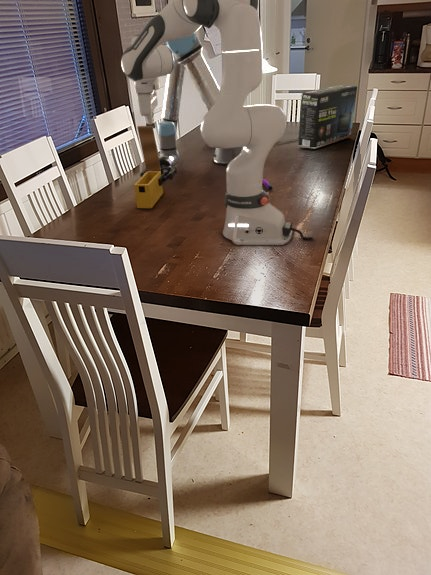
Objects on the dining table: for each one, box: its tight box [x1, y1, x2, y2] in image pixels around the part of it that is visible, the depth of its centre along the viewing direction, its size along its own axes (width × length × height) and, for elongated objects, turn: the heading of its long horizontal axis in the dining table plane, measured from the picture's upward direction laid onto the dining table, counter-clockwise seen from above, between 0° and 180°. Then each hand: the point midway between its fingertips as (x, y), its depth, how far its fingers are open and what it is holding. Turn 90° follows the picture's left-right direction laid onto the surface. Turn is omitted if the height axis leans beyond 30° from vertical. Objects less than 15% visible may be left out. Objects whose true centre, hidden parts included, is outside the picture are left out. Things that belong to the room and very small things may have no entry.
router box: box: [297, 84, 358, 151], centre depth 238 cm, size 36×11×27 cm, turn 134°
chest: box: [133, 171, 164, 209], centre depth 177 cm, size 17×6×9 cm, turn 171°
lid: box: [136, 122, 161, 171], centre depth 178 cm, size 18×6×8 cm
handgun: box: [262, 177, 274, 192], centre depth 191 cm, size 21×8×2 cm, turn 11°
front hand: (150, 123), depth 175 cm, fingers closed, pressing on lid
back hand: (151, 182), depth 179 cm, fingers closed on chest, 6 cm apart
